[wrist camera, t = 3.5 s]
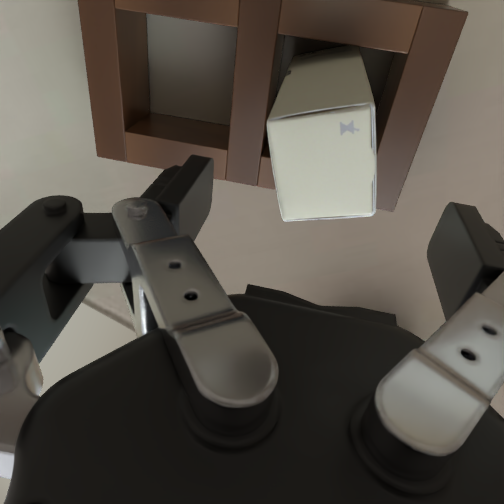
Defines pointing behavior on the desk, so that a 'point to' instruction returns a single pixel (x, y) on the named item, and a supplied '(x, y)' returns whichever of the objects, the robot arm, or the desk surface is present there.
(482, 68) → the desk surface
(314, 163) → the box
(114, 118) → the rack
